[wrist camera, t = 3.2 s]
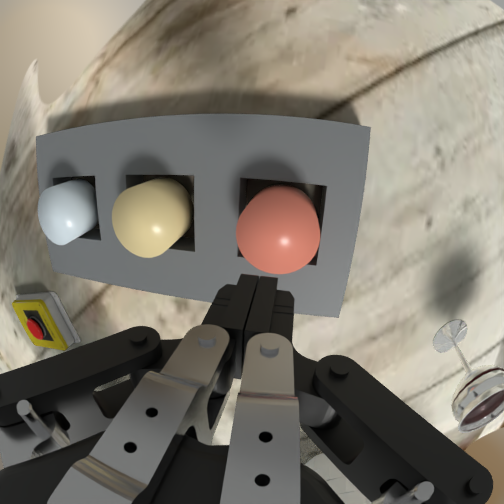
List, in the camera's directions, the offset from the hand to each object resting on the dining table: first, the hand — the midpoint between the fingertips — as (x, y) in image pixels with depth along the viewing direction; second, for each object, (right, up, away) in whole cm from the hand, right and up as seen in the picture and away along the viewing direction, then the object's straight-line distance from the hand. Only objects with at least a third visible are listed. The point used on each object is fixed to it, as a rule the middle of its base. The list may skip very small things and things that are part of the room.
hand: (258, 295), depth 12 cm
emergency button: (-35, -9, +26) cm, 44 cm away
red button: (+2, +4, +11) cm, 12 cm away
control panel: (-8, +6, +14) cm, 17 cm away
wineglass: (+23, -8, +15) cm, 29 cm away
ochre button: (-8, +5, +12) cm, 15 cm away
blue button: (-18, +7, +13) cm, 23 cm away
